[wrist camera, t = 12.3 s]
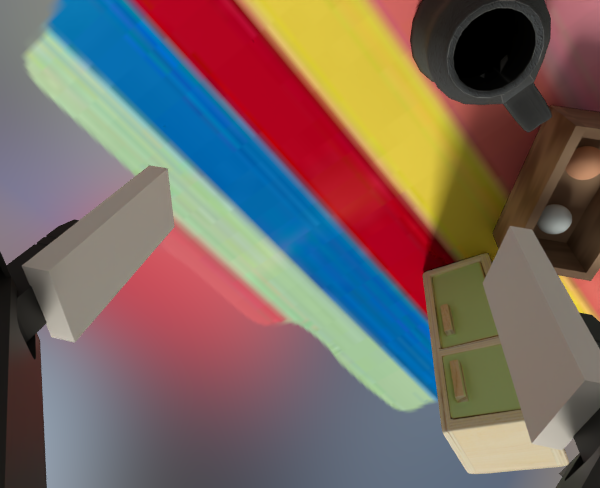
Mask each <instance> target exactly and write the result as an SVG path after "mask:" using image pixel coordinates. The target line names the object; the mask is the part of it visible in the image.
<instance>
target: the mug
mask: <svg viewBox="0 0 600 488" xmlns="http://www.w3.org/2000/svg"><path fill="white" fill-rule="evenodd" d="M550 30H551V18H550V15H549V12H548V10H547V7H546V4H545V1H544V0H423V1H422V2H421V3H420V6H419V8H418V10H417V12H416V15H415V17H414V19H413V22H412V30H411V37H410V43H411V49H412V55H413V58H414V60H415V62H416V64H417V66H418V68H419V70H420V71H421V72H422V73H423V74H424V75H425V76H426V77H427V78H429V79H430V80H431V81H433V82H435V83H436V85H437V87H438V88H439V89H440V90H441V91H442V92H443V93H444V94H445V95H447V96H448V97H449V98H451V99H453V100H456V101H458V102H461V103H463V104H477V105H487V104H503V105H504V106H505V108H506V109H507V110H508V111H509V113H510V114H511V115H512V117H513V118H514V119H515V121H516V122H517V123H518V124H519V125H520V126H521V127H522V128H523V129H524V130H525V131H527V132H531V131H532V130H534V129H535V128H537V127H538V126H539V125H540V124H542V123H544V122H546V121H548V120H549V119H550V118H551V117H552V113H551V110H550V109H549V107H548V105H547V103H546V101H545V100H544V98H543V97H542V95H541V94H540V92H539V91H538V89H537V88H536V86H535V84H534V81H535V79H536V76H537V74H538V71H539V69H540V67H541V64H542V62H543V59H544V57H545V54H546V50H547V47H548V44H549V41H550Z"/></svg>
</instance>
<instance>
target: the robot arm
mask: <svg viewBox="0 0 600 488" xmlns="http://www.w3.org/2000/svg"><path fill="white" fill-rule="evenodd" d="M173 228H174V219H173V210H172V202H171V193H170V185H169V177H168V169H167V168H161V167H155V166H148V167H147V168H146V169H144V170H143V171H142V172H140V173H139V174H138V175H137V176H135V177H134V178H133V179H132V180H130V181H129V182H128V183H126V184H125V185H124V186H123V187H121V188H120V189H119V190H118V191H116V192H115V193H114V194H113V195H111V196H110V197H109V198H108V199H106V200H105V201H104V202H102V203H101V204H100V205H99V206H97V207H96V208H95V209H93V210H92V211H91V212H90V213H88V214H87V215H86V216H84V217H83V218H82V219H81V220H72V221H70V222H67V223H65V224H63V225H61V226H58V227H57V228H56V229H55V230H53V231H52V232H50V233H49V234H48V235H47V237H44V238H42V239H41V240H40V241H38V242H37V244H36V245H33V246H32V247H30V248H29V249H28V250H26V251H25V252H24V253H22V254H21V255H20V256H18V257H17V258H16V259H15V260H13V261H12V262H11V263H9V264H8V265H6V263H5V261H4V259H3V257H2V254H1V253H0V488H47V484H46V462H45V441H44V419H43V396H42V376H41V353H40V340H39V337H38V335H37V332H38V331H39V330H40V329H41V328H42V327H43V326H44V325H45V324H46V325H47V327H48V330H49V332H50V334H51V337H53V338H58V339H62V340H67V341H71V342H75V341H76V340H77V339H78V338H79V337H80V336H81V335H82V334H83V333H84V331H85V330H86V329H87V328H88V326H89V325H90V324H91V323H92V322H93V321H94V319H96V317H97V316H98V315H99V314H100V313H101V311H102V310H103V309H104V308H105V307H106V306H107V305H108V303H109V302H110V301H111V300H112V299H113V298H114V296H115V295H116V294H117V293H118V292H119V290H120V289H121V288H122V287H123V286H124V285H125V284H126V283H127V281H128V280H129V279H130V278H131V276H132V275H133V274H134V273H135V272H136V271H137V270H138V269H139V267H140V266H141V265H142V264H143V263H144V262H145V260H146V259H147V258H148V257H149V256H150V255H151V253H152V252H153V251H154V250H155V249H156V248H157V247H158V245H159V244H160V243H161V242H162V241H163V240H164V238H165V237H166V236H167V235H168V234H169V233H170V231H171V230H172V229H173ZM483 286H484V290H485V293H486V296H487V299H488V303H489V306H490V309H491V312H492V316H493V319H494V322H495V325H496V329H497V332H498V335H499V339H500V342H501V345H502V348H503V352H504V355H505V358H506V361H507V365H508V368H509V371H510V375H511V378H512V381H513V384H514V388H515V391H516V394H517V397H518V401H519V404H520V407H521V411H522V414H523V417H524V420H525V424H526V427H527V430H528V433H529V437H530V440H531V443H532V444H535V445H540V446H544V447H549V448H554V449H558V450H563V449H564V448H565V447H566V446H567V445H568V444H569V442H570V441H571V440H572V439H573V438H574V440H575V442H576V445H577V447H578V450H579V452H580V453H579V454H578V455H577V456H576V457H575V459H573V460H572V462H570V463H569V464H568V465H567V466H566V467H565V468H564V469H563V470H562V472H560V473H559V474H560V475H561V476H562V479H561V480H560V482H559V483H558V485H557V487H556V488H600V322H599V321H598V320H597V319H596V318H595V317H593V316H592V315H589V314H584V313H579V312H578V310H577V308H576V306H575V305H574V303H573V301H572V299H571V298H570V296H569V294H568V292H567V290H566V289H565V287H564V285H563V283H562V282H561V280H560V278H559V276H558V275H557V273H556V271H555V269H554V268H553V266H552V264H551V262H550V260H549V259H548V257H547V255H546V253H545V252H544V250H543V248H542V246H541V245H540V243H539V241H538V239H537V238H536V236H535V234H534V232H533V230H532V229H526V228H520V227H514V226H510V227H509V229H508V231H507V233H506V235H505V237H504V239H503V241H502V244H501V246H500V248H499V250H498V252H497V254H496V256H495V258H494V260H493V262H492V265H491V267H490V269H489V271H488V273H487V275H486V277H485V279H484V281H483Z"/></svg>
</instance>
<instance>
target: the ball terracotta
mask: <svg viewBox="0 0 600 488" xmlns="http://www.w3.org/2000/svg"><path fill="white" fill-rule="evenodd" d="M565 170H566V172H567V173H568V175H569V176H571V177H572V178H575V179H578V180H587V179H591V178H594V177H595V176H597V175H598V174H600V150H599V149H598V148H595V147H592V146H583V147H579V148H577V149H575V151H574V153H573V155H572V157H571V159H570V161H569V163H568V164H567V166H566V168H565Z"/></svg>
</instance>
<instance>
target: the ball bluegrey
mask: <svg viewBox="0 0 600 488" xmlns="http://www.w3.org/2000/svg"><path fill="white" fill-rule="evenodd" d="M571 223H572V215H571V213H570V211H569V210H568V209H567V208H566V207H564V206H562V205H558V204H551V205H548V206H546V207H545V209H544V210H543V212H542V214H541V216H540V218H539V220H538V222H537V225H538V227H539V229H540V230H542V231H543V232H545V233H547V234H560V233H562V232H564V231H566V230H567V229H568V228H569V227H570V225H571Z"/></svg>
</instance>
